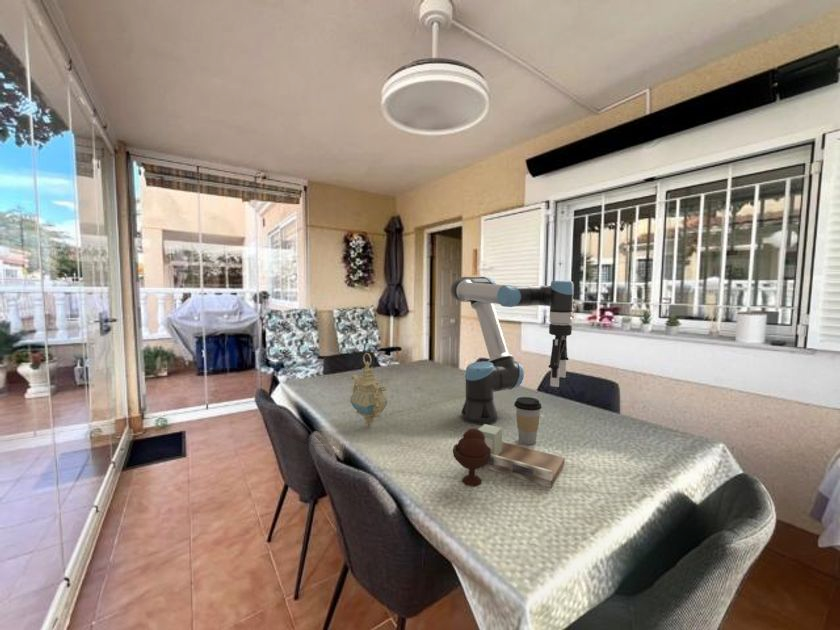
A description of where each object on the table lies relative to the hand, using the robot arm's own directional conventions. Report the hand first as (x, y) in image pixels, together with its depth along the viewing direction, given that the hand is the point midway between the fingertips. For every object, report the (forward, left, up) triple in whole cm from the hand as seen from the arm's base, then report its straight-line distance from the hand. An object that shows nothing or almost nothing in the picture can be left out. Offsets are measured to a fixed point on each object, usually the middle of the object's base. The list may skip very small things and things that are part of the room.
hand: (558, 381), depth 129 cm
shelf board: (-5, -27, -21) cm, 34 cm away
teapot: (-65, -31, -21) cm, 75 cm away
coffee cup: (-8, -9, -21) cm, 24 cm away
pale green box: (-14, -29, -19) cm, 37 cm away
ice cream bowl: (-13, -44, -21) cm, 50 cm away
